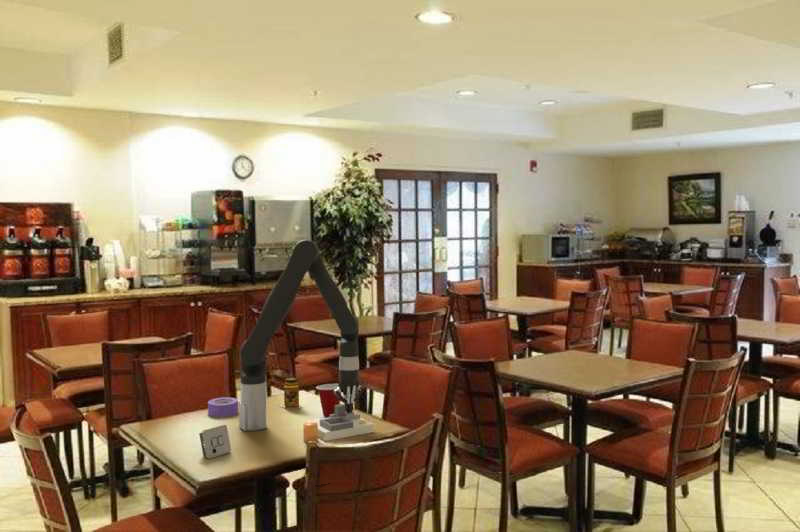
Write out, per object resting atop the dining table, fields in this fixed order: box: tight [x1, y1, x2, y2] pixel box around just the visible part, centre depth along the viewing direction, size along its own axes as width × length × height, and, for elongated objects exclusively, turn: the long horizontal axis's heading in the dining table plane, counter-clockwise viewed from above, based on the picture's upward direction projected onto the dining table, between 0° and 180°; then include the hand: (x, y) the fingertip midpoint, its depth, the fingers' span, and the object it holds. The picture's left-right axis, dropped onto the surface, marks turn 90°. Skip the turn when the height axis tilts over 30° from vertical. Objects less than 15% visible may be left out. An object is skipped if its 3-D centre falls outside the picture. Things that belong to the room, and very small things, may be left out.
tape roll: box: [207, 396, 239, 418], centre depth 275 cm, size 12×12×5 cm
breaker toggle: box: [335, 403, 346, 417], centre depth 256 cm, size 3×3×5 cm
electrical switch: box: [198, 424, 232, 460], centre depth 225 cm, size 9×5×9 cm, turn 141°
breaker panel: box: [304, 410, 375, 442], centre depth 251 cm, size 20×16×5 cm
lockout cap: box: [302, 421, 319, 444], centre depth 239 cm, size 5×5×6 cm
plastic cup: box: [316, 383, 343, 418], centre depth 272 cm, size 11×11×12 cm
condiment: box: [278, 377, 303, 411], centre depth 285 cm, size 7×8×12 cm
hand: (349, 412), depth 258 cm, fingers closed
